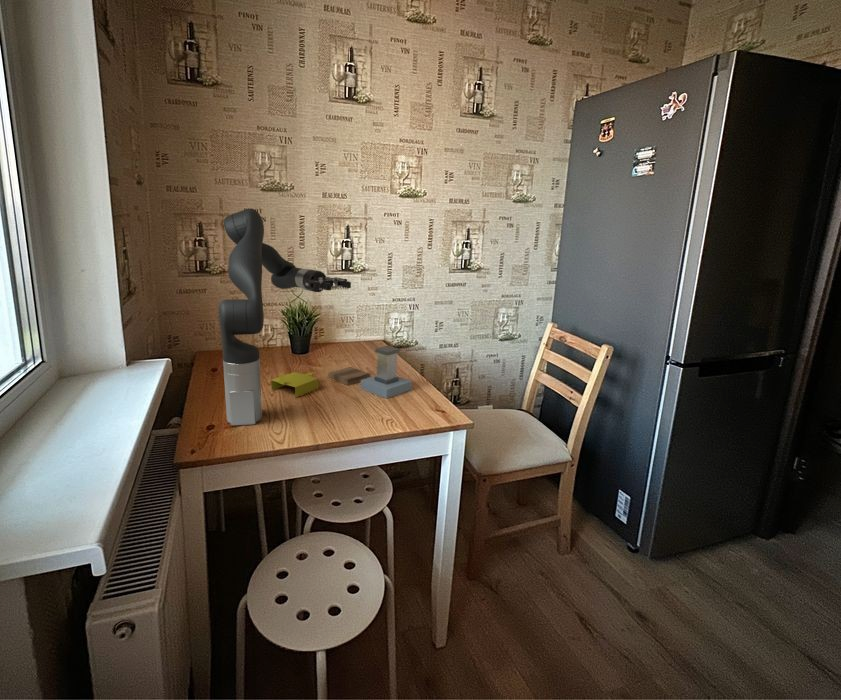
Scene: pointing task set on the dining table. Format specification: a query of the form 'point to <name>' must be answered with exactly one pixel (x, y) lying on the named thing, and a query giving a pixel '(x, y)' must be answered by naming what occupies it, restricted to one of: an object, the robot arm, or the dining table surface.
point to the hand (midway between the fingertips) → (340, 286)
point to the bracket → (296, 382)
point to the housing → (387, 364)
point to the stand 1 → (349, 375)
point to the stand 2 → (386, 387)
